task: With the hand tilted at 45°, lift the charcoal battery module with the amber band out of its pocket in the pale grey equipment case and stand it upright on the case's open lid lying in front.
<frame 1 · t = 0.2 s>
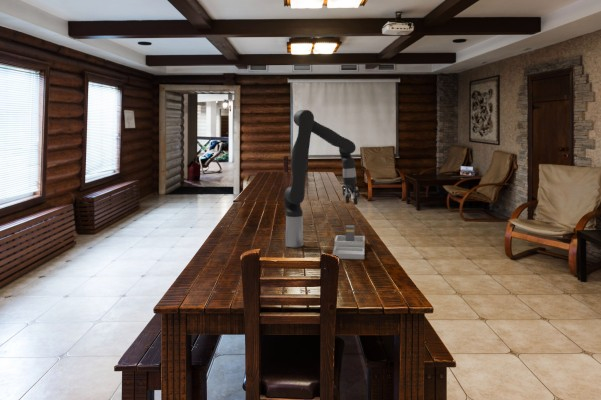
hand: (351, 203, 285), 21 cm above the table, fingers open, 8 cm apart
case: (349, 247, 271), on the table
lid: (348, 255, 256), on the table
module: (349, 245, 271), point 1 cm above the table, touching case
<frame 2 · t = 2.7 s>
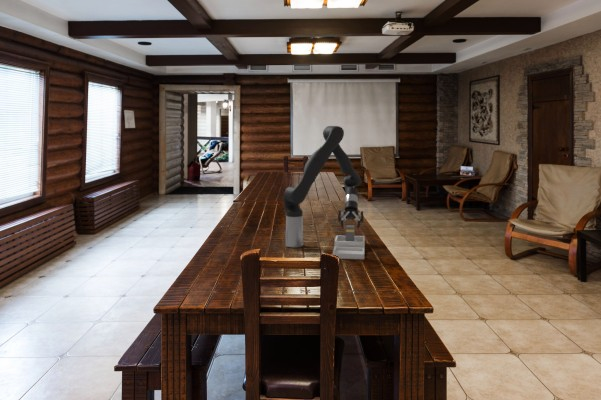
hand: (350, 227, 273), 10 cm above the table, fingers open, 8 cm apart
nothing on the table moved.
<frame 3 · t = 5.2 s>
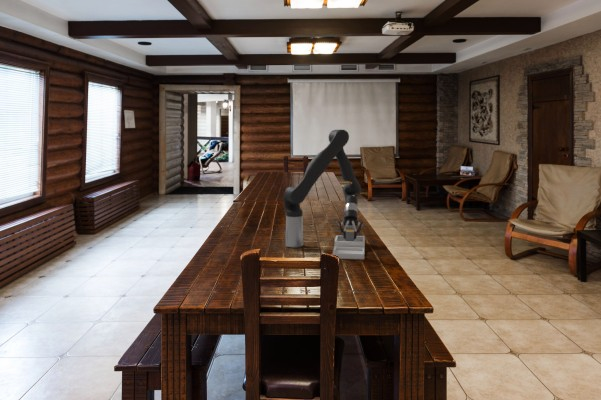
hand: (349, 238, 268), 6 cm above the table, fingers closed on module, 4 cm apart
module: (349, 245, 271), point 1 cm above the table, touching case, gripper
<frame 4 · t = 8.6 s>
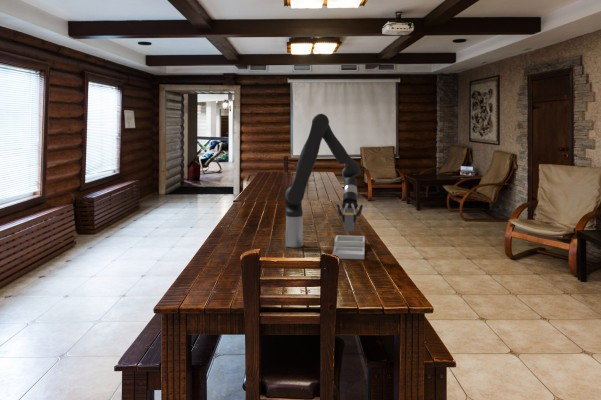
hand: (349, 222, 251), 18 cm above the table, fingers closed on module, 4 cm apart
module: (349, 230, 254), point 13 cm above the table, touching gripper
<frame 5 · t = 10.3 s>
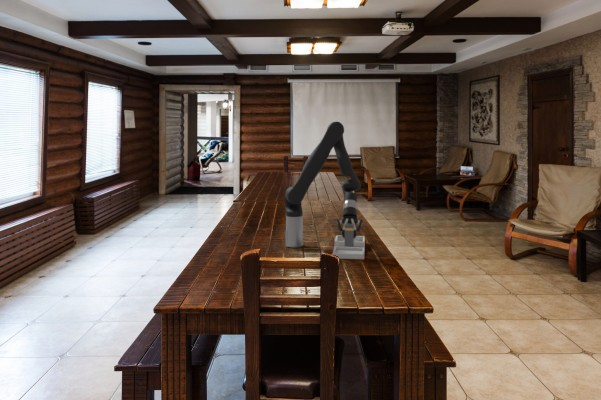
hand: (349, 237, 252), 10 cm above the table, fingers closed on module, 4 cm apart
module: (349, 245, 255), point 5 cm above the table, touching gripper
when the fingers open (7 cm above the table, at t = 11.9 s): module drops 1 cm, resting on lid.
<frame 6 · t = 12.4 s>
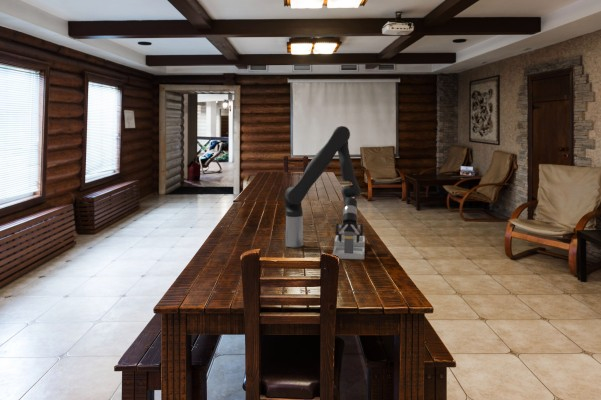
hand: (348, 241, 253), 7 cm above the table, fingers open, 8 cm apart
module: (348, 253, 256), point 1 cm above the table, touching lid
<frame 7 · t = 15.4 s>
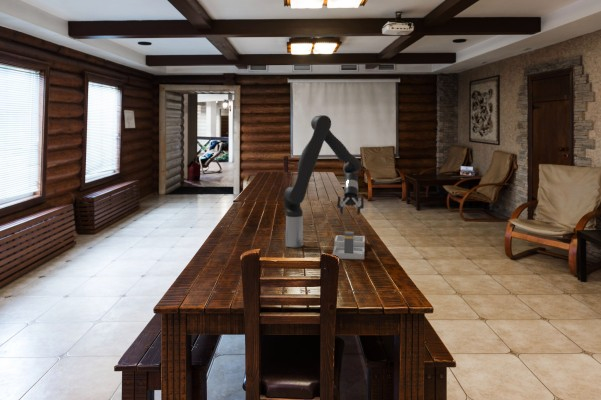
hand: (350, 213, 263), 20 cm above the table, fingers open, 8 cm apart
nothing on the table moved.
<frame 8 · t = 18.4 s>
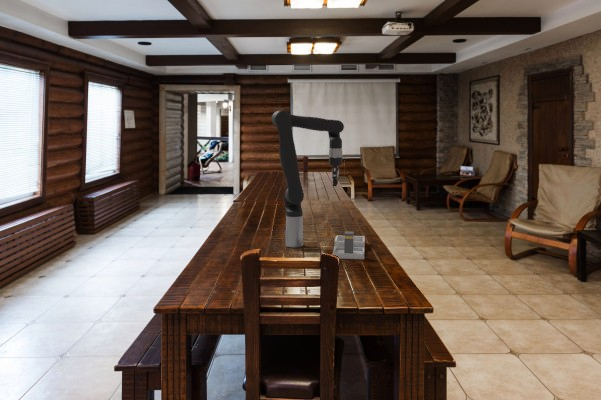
hand: (335, 185, 278), 33 cm above the table, fingers open, 8 cm apart
nothing on the table moved.
at the end: module inside the target area on the lid (0.1 cm from its centre), point 1.0 cm above the lid's base; module tilted 0°; the gripper is holding nothing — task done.
